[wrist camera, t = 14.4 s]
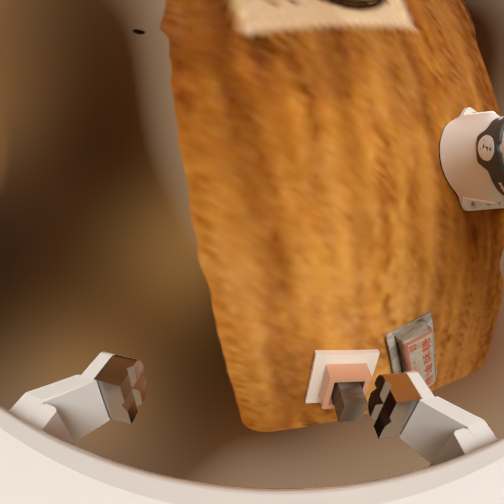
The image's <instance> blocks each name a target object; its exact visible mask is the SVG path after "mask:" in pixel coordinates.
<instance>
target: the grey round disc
mask: <svg viewBox="0 0 504 504" xmlns="http://www.w3.org/2000/svg"><path fill="white" fill-rule="evenodd" d="M332 1H334V2H338V3H341V4H344V5H348V6H357V7H366V6H373V5H375V4H377V3H379V2H381V0H332Z"/></svg>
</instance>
